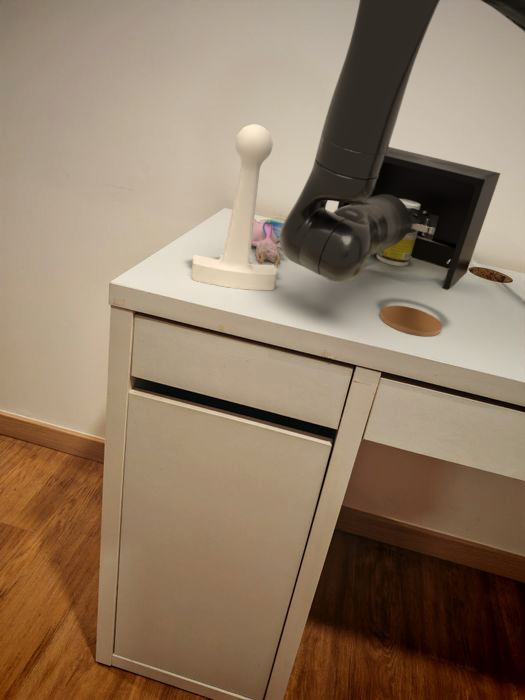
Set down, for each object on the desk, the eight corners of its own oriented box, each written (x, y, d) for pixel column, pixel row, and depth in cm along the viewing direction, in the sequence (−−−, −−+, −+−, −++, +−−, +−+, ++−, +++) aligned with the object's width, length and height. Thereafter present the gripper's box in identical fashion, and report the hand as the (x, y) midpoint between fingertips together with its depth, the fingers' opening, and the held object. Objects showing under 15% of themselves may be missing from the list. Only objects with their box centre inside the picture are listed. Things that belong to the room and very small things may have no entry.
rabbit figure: (287, 276, 88) (272, 231, 100) (296, 240, 84) (279, 198, 96) (246, 272, 87) (236, 227, 98) (254, 235, 83) (242, 193, 95)
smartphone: (311, 228, 107) (267, 240, 95) (310, 233, 107) (266, 245, 95) (278, 217, 110) (232, 227, 98) (277, 221, 110) (231, 232, 98)
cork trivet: (428, 313, 80) (430, 309, 80) (450, 339, 73) (451, 335, 73) (372, 306, 79) (374, 302, 79) (389, 332, 72) (390, 327, 72)
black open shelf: (448, 290, 91) (485, 179, 83) (322, 249, 99) (345, 145, 92) (466, 272, 101) (500, 173, 94) (351, 237, 110) (373, 143, 102)
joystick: (190, 282, 75) (210, 118, 67) (192, 263, 82) (210, 111, 73) (275, 293, 77) (305, 134, 68) (269, 273, 84) (296, 126, 75)
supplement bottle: (373, 253, 98) (388, 195, 94) (404, 259, 99) (421, 201, 94) (378, 263, 93) (394, 202, 89) (411, 269, 94) (429, 208, 89)
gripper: (431, 211, 77) (460, 199, 90) (333, 184, 82) (374, 176, 96) (415, 265, 80) (446, 246, 94) (322, 236, 85) (363, 221, 99)
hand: (409, 211), depth 95 cm, fingers closed on supplement bottle, 5 cm apart
